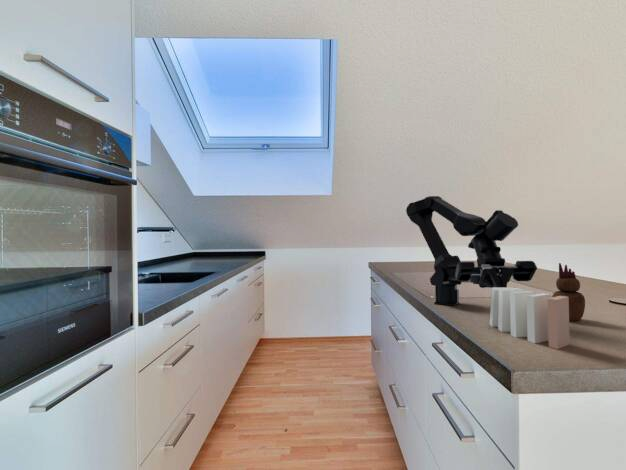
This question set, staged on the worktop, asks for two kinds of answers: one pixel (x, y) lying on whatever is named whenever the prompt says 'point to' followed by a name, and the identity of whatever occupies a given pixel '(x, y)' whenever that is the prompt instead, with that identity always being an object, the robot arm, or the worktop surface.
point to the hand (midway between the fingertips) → (503, 297)
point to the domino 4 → (537, 317)
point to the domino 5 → (558, 322)
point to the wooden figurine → (570, 293)
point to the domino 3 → (519, 313)
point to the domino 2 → (505, 309)
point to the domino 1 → (495, 305)
